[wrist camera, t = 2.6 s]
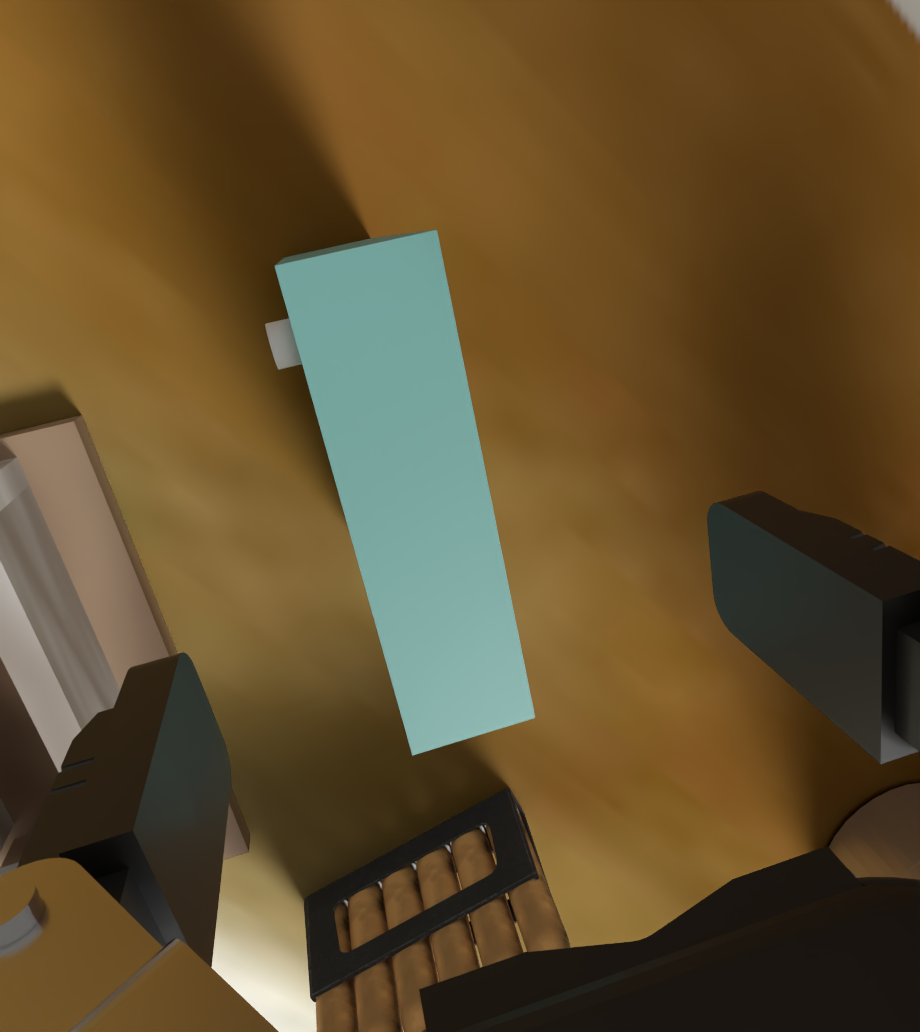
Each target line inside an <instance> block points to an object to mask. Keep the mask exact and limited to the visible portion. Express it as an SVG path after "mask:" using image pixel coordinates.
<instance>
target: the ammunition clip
mask: <svg viewBox="0 0 920 1032" xmlns="http://www.w3.org/2000/svg"><path fill="white" fill-rule="evenodd" d="M492 853H494V854H495V857H496V860H497V865H496V864H495V861H494V858H493V855H492ZM457 872H458V876H459V879H460V883H461V887H462V890H461V889H460V885H459V881H458V877H457ZM505 893H508V896H509V899H508V900H507V899H506V896H505ZM304 912H305V926H306V941H307V955H308V970H309V984H310V997H311V999H312V1000H313V1001H314V1002H316V1020H317V1032H403V1030H404V1032H422V1031H423V1030H424V1029H426V1027H425V1021H424V1015H423V1010H422V1004H421V998H420V992H419V989H421V988H424V987H427V986H430V985H433V984H436V983H439V982H441V981H444V980H447V979H450V978H453V977H456V976H459V975H461V974H464V973H467V972H470V971H473V970H476V969H478V968H480V964H479V960H478V956H477V952H476V948H475V945H477V946H478V950H479V954H480V958H481V961H482V965H483V967H484V966H487V965H490V964H493V963H496V962H498V961H501V960H504V959H507V958H510V957H513V956H516V955H518V954H521V953H523V949H522V946H521V943H520V940H519V937H518V934H517V931H516V927H515V923H518V926H519V929H520V931H521V934H522V937H523V940H524V943H525V946H526V949H527V952H532V951H543V950H553V949H563V948H571V946H570V943H569V940H568V937H567V934H566V931H565V929H564V926H563V924H562V921H561V918H560V916H559V913H558V911H557V908H556V906H555V903H554V900H553V898H552V895H551V893H550V890H549V887H548V884H547V881H546V878H545V875H544V872H543V869H542V866H541V862H540V859H539V856H538V853H537V850H536V847H535V844H534V841H533V838H532V835H531V832H530V829H529V826H528V823H527V820H526V817H525V814H524V812H523V810H522V809H521V807H520V805H519V804H518V802H517V800H516V799H515V797H514V795H513V793H512V792H511V790H510V789H508V788H506V789H504V790H502V791H500V792H498V793H497V794H495V795H493V796H491V797H489V798H487V799H485V800H484V801H482V802H480V803H478V804H476V805H474V806H473V807H471V808H469V809H467V810H465V811H463V812H462V813H460V814H458V815H456V816H454V817H452V818H451V819H449V820H447V821H445V822H443V823H441V824H440V825H438V826H436V827H434V828H432V829H430V830H429V831H427V832H425V833H423V834H421V835H419V836H418V837H416V838H414V839H412V840H410V841H408V842H407V843H405V844H403V845H401V846H399V847H397V848H396V849H394V850H392V851H390V852H388V853H386V854H385V855H383V856H381V857H379V858H377V859H375V860H374V861H372V862H370V863H368V864H366V865H364V866H363V867H361V868H359V869H357V870H355V871H353V872H352V873H350V874H348V875H346V876H344V877H342V878H341V879H339V880H337V881H335V882H333V883H331V884H330V885H328V886H326V887H324V888H322V889H320V890H319V891H317V892H315V893H313V894H311V895H309V896H308V897H307V898H306V899H305V901H304ZM467 914H469V917H470V920H471V921H470V922H469V920H468V916H467ZM436 967H437V969H436ZM437 972H438V974H437ZM438 977H439V979H438ZM402 1027H403V1028H402Z"/></svg>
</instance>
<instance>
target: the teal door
mask: <svg viewBox="0 0 920 1032" xmlns="http://www.w3.org/2000/svg"><path fill="white" fill-rule="evenodd" d="M275 269H276V273H277V276H278V280H279V284H280V287H281V291H282V294H283V298H284V301H285V305H286V308H287V312H288V315H289V318H288V319H284V320H279V321H275V322H271V323H266V324H265V327H266V331H267V336H268V339H269V343H270V347H271V350H272V353H273V357H274V360H275V363H276V365H277V368H278V370H280V369H284V368H288V367H292V366H297V365H301V364H302V365H303V369H304V372H305V376H306V379H307V383H308V386H309V390H310V394H311V397H312V401H313V404H314V408H315V411H316V415H317V418H318V422H319V426H320V429H321V433H322V436H323V440H324V443H325V447H326V450H327V454H328V457H329V461H330V465H331V468H332V472H333V475H334V479H335V482H336V486H337V489H338V493H339V496H340V500H341V504H342V507H343V511H344V514H345V518H346V521H347V525H348V528H349V532H350V536H351V539H352V543H353V546H354V550H355V553H356V557H357V560H358V564H359V567H360V571H361V575H362V578H363V582H364V585H365V589H366V592H367V596H368V599H369V603H370V607H371V610H372V614H373V617H374V621H375V624H376V628H377V631H378V635H379V638H380V642H381V646H382V649H383V653H384V656H385V660H386V663H387V667H388V670H389V674H390V678H391V681H392V685H393V688H394V692H395V695H396V699H397V702H398V706H399V709H400V713H401V717H402V720H403V724H404V727H405V731H406V734H407V738H408V741H409V745H410V749H411V752H412V756H413V755H416V754H419V753H422V752H426V751H429V750H432V749H435V748H439V747H442V746H445V745H448V744H452V743H455V742H458V741H461V740H465V739H468V738H471V737H474V736H478V735H481V734H484V733H487V732H491V731H494V730H497V729H500V728H504V727H507V726H510V725H514V724H517V723H520V722H523V721H527V720H530V719H533V718H535V714H534V709H533V704H532V699H531V694H530V690H529V685H528V680H527V675H526V670H525V665H524V660H523V655H522V650H521V645H520V640H519V635H518V630H517V625H516V620H515V615H514V610H513V605H512V600H511V595H510V590H509V585H508V580H507V576H506V571H505V566H504V561H503V556H502V551H501V546H500V541H499V536H498V531H497V526H496V521H495V516H494V511H493V506H492V501H491V496H490V491H489V486H488V481H487V476H486V471H485V466H484V461H483V457H482V452H481V447H480V442H479V437H478V432H477V427H476V422H475V417H474V412H473V407H472V402H471V397H470V392H469V387H468V382H467V377H466V372H465V367H464V362H463V357H462V352H461V347H460V343H459V338H458V333H457V328H456V323H455V318H454V313H453V308H452V303H451V298H450V293H449V288H448V283H447V278H446V273H445V268H444V263H443V258H442V253H441V248H440V243H439V238H438V233H437V230H431V231H423V232H415V233H408V234H400V235H393V236H385V237H377V238H370V239H365V240H361V241H356V242H352V243H347V244H343V245H338V246H334V247H329V248H325V249H320V250H316V251H311V252H307V253H302V254H298V255H293V256H289V257H284V258H283V259H282V260H281V261H279V262H278V263H277V264H276V265H275Z"/></svg>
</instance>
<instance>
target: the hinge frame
mask: <svg viewBox="0 0 920 1032" xmlns="http://www.w3.org/2000/svg"><path fill="white" fill-rule="evenodd" d="M176 654H177V651H176V649H175V646H174V644H173V641H172V639H171V636H170V634H169V631H168V629H167V626H166V624H165V621H164V619H163V616H162V614H161V611H160V609H159V606H158V604H157V601H156V599H155V596H154V594H153V591H152V589H151V587H150V584H149V582H148V579H147V577H146V574H145V572H144V569H143V567H142V564H141V562H140V559H139V557H138V554H137V552H136V549H135V547H134V544H133V542H132V539H131V537H130V534H129V532H128V529H127V527H126V524H125V522H124V519H123V517H122V514H121V512H120V509H119V507H118V504H117V502H116V499H115V497H114V494H113V492H112V489H111V487H110V484H109V482H108V479H107V477H106V474H105V472H104V469H103V467H102V464H101V462H100V459H99V457H98V454H97V452H96V449H95V447H94V444H93V442H92V439H91V437H90V434H89V432H88V429H87V427H86V424H85V422H84V420H83V417H82V415H80V416H75V417H71V418H67V419H63V420H59V421H54V422H50V423H46V424H42V425H38V426H34V427H29V428H25V429H21V430H17V431H13V432H8V433H4V434H0V876H2V875H4V874H6V873H8V872H10V871H12V870H14V869H16V868H17V866H18V864H19V861H20V859H21V857H22V854H23V852H24V850H25V848H26V845H27V843H28V841H29V838H30V836H31V834H32V832H33V829H34V827H35V825H36V822H37V820H38V818H39V816H40V813H41V811H42V809H43V806H44V804H45V802H46V800H47V797H48V796H50V795H51V788H52V786H53V783H54V781H55V779H56V777H57V774H58V773H59V772H61V765H62V763H63V761H64V758H65V756H66V754H67V751H68V749H69V747H70V745H71V742H72V740H73V739H74V738H75V737H76V736H77V735H78V734H79V732H80V731H81V730H82V729H83V728H84V727H85V726H86V725H87V724H88V723H89V722H90V721H91V720H92V718H93V717H94V716H95V715H96V714H97V713H98V712H101V711H105V710H108V709H112V708H114V705H115V703H116V700H117V697H118V695H119V692H120V690H121V687H122V684H123V682H124V679H125V676H126V674H127V671H128V669H129V668H130V667H133V666H137V665H140V664H144V663H147V662H151V661H155V660H158V659H162V658H165V657H169V656H172V655H176ZM249 843H250V833H249V831H248V828H247V826H246V823H245V821H244V818H243V816H242V813H241V811H240V808H239V806H238V803H237V801H236V798H235V796H234V793H233V791H232V788H231V790H230V799H229V808H228V817H227V827H226V836H225V845H224V855H223V860H225V859H228V858H231V857H234V856H238V855H241V854H244V853H247V852H249Z"/></svg>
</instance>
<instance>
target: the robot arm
mask: <svg viewBox="0 0 920 1032" xmlns="http://www.w3.org/2000/svg"><path fill="white" fill-rule="evenodd" d="M707 524H708V536H709V547H710V559H711V571H712V582H713V593H714V599H715V604H716V607H717V610H718V612H719V615H720V617H721V619H722V621H723V623H724V624H725V626H726V627H727V628H728V630H729V631H730V632H731V633H732V634H733V635H734V636H736V637H737V638H738V639H739V640H740V641H741V642H742V643H743V644H745V645H746V646H747V647H748V648H749V649H750V650H751V651H753V652H754V653H755V654H756V655H757V656H758V657H759V658H761V659H762V660H763V661H764V662H765V663H766V664H767V665H768V666H770V667H771V668H772V669H773V670H774V671H775V672H776V673H778V674H779V675H780V676H781V677H782V678H783V679H784V680H785V681H787V682H788V683H789V684H790V685H791V686H792V687H793V688H795V689H796V690H797V691H798V692H799V693H800V694H801V695H803V696H804V697H805V698H806V699H807V700H808V701H809V702H810V703H812V704H813V705H814V706H815V707H816V708H817V709H818V710H820V711H821V712H822V713H823V714H824V715H825V716H826V717H828V718H829V719H830V720H831V721H832V722H833V723H834V724H835V725H837V726H838V727H839V728H840V729H841V730H842V731H843V732H845V733H846V734H847V735H848V736H849V737H850V738H851V739H852V740H854V741H855V742H856V743H857V744H858V745H859V746H860V747H862V748H863V749H864V750H865V751H866V752H867V753H868V754H870V755H871V756H872V757H873V758H874V759H875V760H876V761H877V762H879V763H880V764H883V763H886V762H889V761H892V760H895V759H898V758H901V757H904V756H907V755H910V754H913V753H916V752H920V561H919V560H917V559H915V558H913V557H911V556H909V555H907V554H905V553H903V552H901V551H899V550H897V549H895V548H893V547H891V546H888V547H885V545H884V543H883V542H881V541H879V540H877V539H875V538H873V537H871V536H869V535H865V536H863V534H862V532H861V531H859V530H857V529H855V528H853V527H851V526H849V525H847V524H845V523H843V522H841V521H839V520H837V519H835V518H830V517H826V516H821V515H817V514H812V513H808V512H804V511H799V510H797V509H795V508H793V507H791V506H790V505H788V504H786V503H784V502H782V501H780V500H778V499H776V498H774V497H772V496H770V495H769V494H767V493H765V492H762V491H757V492H753V493H749V494H746V495H742V496H739V497H735V498H732V499H728V500H725V501H721V502H718V503H714V504H713V505H711V507H710V508H709V511H708V517H707ZM230 790H231V770H230V763H229V757H228V753H227V749H226V745H225V742H224V739H223V737H222V734H221V732H220V729H219V727H218V724H217V722H216V719H215V717H214V714H213V712H212V709H211V707H210V704H209V702H208V699H207V696H206V694H205V691H204V689H203V686H202V684H201V681H200V679H199V676H198V674H197V671H196V669H195V667H194V664H193V662H192V660H191V659H190V657H189V656H188V655H187V654H186V653H179V654H176V655H172V656H169V657H165V658H162V659H158V660H155V661H151V662H147V663H144V664H140V665H137V666H133V667H130V668H129V669H128V671H127V674H126V676H125V679H124V682H123V684H122V687H121V690H120V692H119V695H118V697H117V700H116V703H115V705H114V708H112V709H108V710H105V711H101V712H98V713H97V714H96V715H95V716H94V717H93V718H92V720H91V721H90V722H89V723H88V724H87V725H86V726H85V727H84V728H83V729H82V730H81V731H80V732H79V734H78V735H77V736H76V737H75V738H74V739H73V740H72V742H71V745H70V747H69V749H68V751H67V754H66V756H65V758H64V761H63V763H62V765H61V772H59V773H58V774H57V777H56V779H55V781H54V783H53V786H52V788H51V795H50V796H48V797H47V800H46V802H45V804H44V806H43V809H42V811H41V813H40V816H39V818H38V820H37V822H36V825H35V827H34V829H33V832H32V834H31V836H30V838H29V841H28V843H27V845H26V848H25V850H24V852H23V854H22V857H21V859H20V861H19V864H18V866H17V868H16V869H14V870H12V871H10V872H8V873H6V874H4V875H2V876H0V1032H278V1031H277V1030H276V1029H275V1028H274V1027H273V1026H272V1025H271V1024H270V1023H269V1022H268V1021H267V1020H266V1019H265V1018H264V1017H263V1016H262V1015H260V1014H259V1013H258V1012H257V1011H256V1010H255V1009H254V1008H253V1007H252V1006H251V1005H250V1004H249V1003H248V1002H247V1001H246V1000H245V999H244V998H243V997H242V996H240V995H239V994H238V993H237V992H236V991H235V990H234V989H233V988H232V987H231V986H230V985H229V984H228V983H227V982H226V981H225V980H224V979H223V978H221V977H220V976H219V975H218V974H217V973H216V972H215V971H214V970H213V969H212V968H211V966H212V957H213V948H214V938H215V929H216V920H217V910H218V901H219V892H220V883H221V873H222V864H223V855H224V845H225V836H226V827H227V817H228V808H229V799H230ZM419 992H420V998H421V1004H422V1010H423V1015H424V1021H425V1027H426V1029H424V1030H423V1031H422V1032H920V783H915V784H908V785H904V786H901V787H898V788H895V789H892V790H889V791H888V792H886V793H884V794H882V795H880V796H878V797H876V798H874V799H873V800H871V801H870V802H868V803H867V804H866V805H864V806H863V807H861V808H860V809H859V810H858V811H857V812H856V813H855V814H853V815H852V816H851V817H850V818H849V819H848V820H847V821H846V822H845V823H844V825H843V826H842V827H841V829H840V830H839V831H838V833H837V834H836V835H835V837H834V838H833V840H832V842H831V844H830V846H829V847H828V846H826V847H824V848H821V849H818V850H815V851H812V852H809V853H806V854H804V855H801V856H798V857H795V858H792V859H789V860H786V861H784V862H781V863H778V864H775V865H772V866H769V867H767V868H764V869H761V870H758V871H755V872H752V873H749V874H747V875H744V876H741V877H738V878H735V879H732V880H731V881H730V882H728V883H727V884H725V885H724V886H722V887H721V888H719V889H718V890H716V891H715V892H714V893H712V894H711V895H709V896H708V897H706V898H705V899H703V900H702V901H700V902H699V903H698V904H696V905H695V906H693V907H692V908H690V909H689V910H687V911H686V912H684V913H683V914H682V915H680V916H679V917H677V918H676V919H674V920H673V921H671V922H670V923H668V924H667V925H666V926H664V927H663V928H661V929H660V930H658V931H657V932H655V933H654V934H652V935H650V936H649V937H647V938H644V939H641V940H638V941H633V942H624V943H614V944H604V945H594V946H583V947H573V948H563V949H553V950H543V951H532V952H524V953H521V954H518V955H516V956H513V957H510V958H507V959H504V960H501V961H498V962H496V963H493V964H490V965H487V966H484V967H481V968H478V969H476V970H473V971H470V972H467V973H464V974H461V975H459V976H456V977H453V978H450V979H447V980H444V981H441V982H439V983H436V984H433V985H430V986H427V987H424V988H421V989H419Z"/></svg>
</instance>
